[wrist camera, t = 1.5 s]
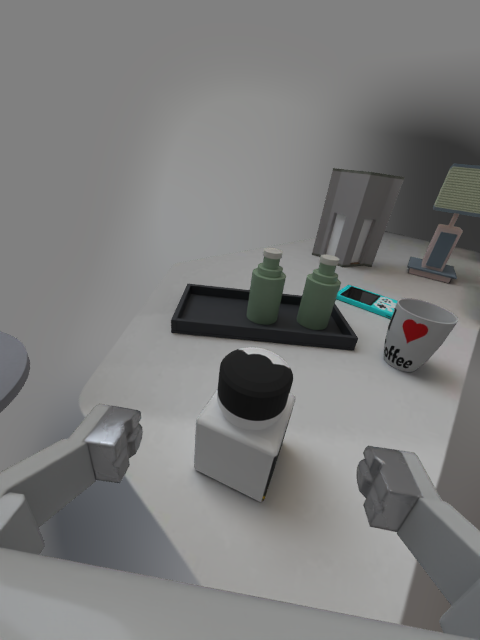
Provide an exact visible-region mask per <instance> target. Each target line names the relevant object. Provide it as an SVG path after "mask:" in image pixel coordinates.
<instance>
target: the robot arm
mask: <svg viewBox="0 0 480 640" xmlns="http://www.w3.org/2000/svg"><path fill="white" fill-rule="evenodd" d="M140 419H141V412H140V411H138V410H133V409H128V408H122V407H117V406H110V405H105V404H98V405H96V406H95V407H94V408H93V409H92V410H91V412H90V413H89V414H88V415H87V416H86V418H85V419H84V420H83V421H82V422H81V424H80V425H79V426H78V427H77V428H76V430H75V431H74V432H73V433H72V434H71V436H70V437H69V438H68V439H62V440H60V441H58V442H56V443H55V444H53V445H51V446H49V447H47V448H45V449H43V450H42V451H39V452H38V453H36V454H34V455H32V456H30V457H28V458H27V459H24V460H23V461H21V462H19V463H17V464H15V465H13V466H11V467H9V468H7V469H6V470H4V471H2V472H0V640H480V531H479V530H478V529H477V528H476V527H475V526H473V525H472V524H471V523H470V522H469V521H468V520H466V519H465V518H464V517H463V516H462V515H461V514H460V513H459V512H458V511H457V510H455V509H454V508H453V507H452V506H451V505H450V504H449V503H447V502H443V501H442V500H441V498H440V496H439V494H438V492H437V491H436V489H435V487H434V485H433V483H432V482H431V480H430V478H429V476H428V474H427V472H426V471H425V469H424V467H423V465H422V463H421V462H420V460H419V458H418V456H417V455H416V454H415V453H413V452H406V451H400V450H394V449H387V448H380V447H373V446H367V447H366V448H365V450H364V452H363V454H364V457H365V459H363V460H361V461H360V462H359V464H358V467H357V483H358V487H359V491H360V492H361V493H362V494H363V495H364V497H365V498H366V500H365V502H364V508H365V512H366V515H367V518H368V522H369V525H370V527H375V528H380V529H385V530H390V531H395V532H397V534H398V536H399V537H400V538H401V540H402V541H403V542H404V544H405V545H406V546H407V548H408V549H409V550H410V551H411V553H412V554H413V555H414V557H415V558H416V559H417V561H418V562H419V563H420V565H421V566H422V567H423V569H424V570H425V571H426V573H427V574H428V575H429V576H430V578H431V579H432V581H433V582H434V583H435V584H436V586H437V587H438V588H439V590H440V591H441V592H442V594H443V595H444V596H445V598H446V599H447V600H448V602H449V603H450V604H451V608H450V609H449V610H448V611H446V613H445V614H443V615H442V617H441V619H440V621H439V622H440V625H441V628H442V630H443V633H441V632H436V631H431V630H425V629H420V628H415V627H411V626H405V625H400V624H395V623H390V622H385V621H380V620H374V619H369V618H364V617H359V616H354V615H349V614H343V613H338V612H333V611H328V610H323V609H317V608H312V607H307V606H302V605H297V604H292V603H286V602H281V601H276V600H271V599H266V598H261V597H255V596H250V595H245V594H240V593H235V592H230V591H224V590H219V589H214V588H209V587H204V586H199V585H193V584H188V583H183V582H178V581H173V580H167V579H162V578H156V577H152V576H147V575H141V574H136V573H131V572H126V571H121V570H115V569H110V568H105V567H100V566H94V565H90V564H84V563H79V562H74V561H69V560H64V559H58V558H53V557H48V556H43V555H39V554H40V553H41V551H42V550H43V548H44V540H43V538H42V535H41V533H40V531H39V527H40V526H41V525H43V524H44V523H45V522H46V521H47V520H49V519H50V518H51V517H52V516H54V515H55V514H56V513H57V512H59V511H60V510H61V509H62V508H63V507H65V506H66V505H67V504H68V503H70V502H71V501H72V500H73V499H75V498H76V497H77V496H78V495H79V494H81V493H82V492H83V491H84V490H86V489H87V488H88V487H89V486H91V485H92V484H93V483H94V482H95V481H96V480H101V481H109V482H115V483H120V482H121V481H122V479H123V477H124V475H125V473H126V471H127V469H128V467H129V465H130V464H129V458H130V457H132V456H133V455H135V454H136V452H137V450H138V448H139V446H140V442H141V439H142V426H141V425H140V424H139V421H140Z"/></svg>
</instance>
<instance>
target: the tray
mask: <svg viewBox="0 0 480 640" xmlns="http://www.w3.org/2000/svg"><path fill="white" fill-rule="evenodd" d="M249 294H250V290H242V289H233V288H223V287H214V286H204V285H195V284H187V286H186V288H185V291H184V293H183V295H182V297H181V300H180V302H179V304H178V306H177V308H176V311H175V313H174V315H173V317H172V320H171V329H172V330H171V332H172V333H182V334H192V335H203V336H213V337H223V338H234V339H244V340H254V341H265V342H275V343H285V344H295V345H306V346H316V347H326V348H337V349H347V350H354V348H355V345H356V343H357V340H358V337H357V336H356V334H355V333H354V331H353V330H352V328H351V327H350V326H349V324H348V323H347V321H346V320H345V318H344V317H343V315H342V314H341V312H340V311H339V309H338V308H337V306H336V305H335V303H334V306H333V309H332V313H331V316H330V319H329V322H328V325H327V327H326V328H325V329H323V330H313V329H309V328H306V327H304V326H302V325H300V324H299V323H298V322H297V315H298V311H299V307H300V303H301V299H302V296H298V295H289V294H282V297H281V302H280V307H279V312H278V317H277V321H276V322H275V323H273V324H269V325H262V324H257V323H254V322H252V321H250V320H249V319H248V318H247V307H248V301H249Z"/></svg>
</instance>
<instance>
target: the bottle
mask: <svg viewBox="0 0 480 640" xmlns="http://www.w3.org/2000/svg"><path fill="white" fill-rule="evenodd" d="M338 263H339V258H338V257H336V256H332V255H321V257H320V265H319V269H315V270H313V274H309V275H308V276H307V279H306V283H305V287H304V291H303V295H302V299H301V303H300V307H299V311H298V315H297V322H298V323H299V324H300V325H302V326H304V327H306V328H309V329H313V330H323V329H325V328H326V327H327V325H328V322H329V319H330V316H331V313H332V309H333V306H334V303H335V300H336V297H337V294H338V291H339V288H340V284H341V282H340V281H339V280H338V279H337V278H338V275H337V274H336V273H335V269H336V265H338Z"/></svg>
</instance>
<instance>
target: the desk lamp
mask: <svg viewBox="0 0 480 640" xmlns="http://www.w3.org/2000/svg"><path fill="white" fill-rule="evenodd" d="M433 209H434V210H438V211H444V212H450V213H454V215H453V217H452V219H451V222H450V224H449V225H443V224H439V225H438V227H437V229H436V232H435V234H434V236H433V238H432V240H431V242H430V245H429V247H428V249H427V251H426V253H425V255H424V258H423V259H419V258H415V257H410V260H409V263H408V268H410V269H409V273H411V274H415V275H419V276H423V277H427V278H431V279H435V280H439V281H443V282H446V283H449V282H450V280H451V278H453V279H457V277H456V273H455V270H454V267H453V266H449V265H446V263H447V261H448V259H449V257H450V255H451V253H452V251H453V249H454V247H455V245H456V243H457V241H458V240H459V237H460V235H461V234H462V232H463V231H461V229H460V228H459V227H454V224H455V222H456V220H457V218H458V216H459V214H463V215H469V216H476V217H480V166H473V165H463V164H453V165H452V166H451V167H450V169H449V172H448V174H447V177H446V179H445V181H444V184H443V186H442V188H441V191H440V193H439V195H438V197H437V200H436V202H435V204H434V206H433Z"/></svg>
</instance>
